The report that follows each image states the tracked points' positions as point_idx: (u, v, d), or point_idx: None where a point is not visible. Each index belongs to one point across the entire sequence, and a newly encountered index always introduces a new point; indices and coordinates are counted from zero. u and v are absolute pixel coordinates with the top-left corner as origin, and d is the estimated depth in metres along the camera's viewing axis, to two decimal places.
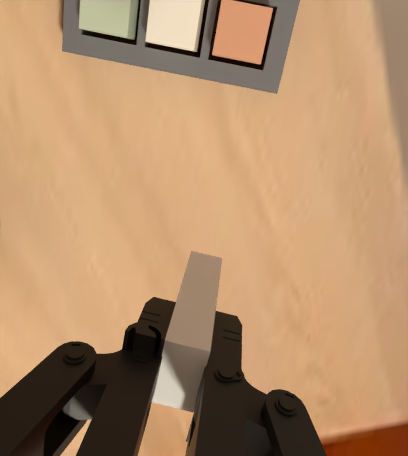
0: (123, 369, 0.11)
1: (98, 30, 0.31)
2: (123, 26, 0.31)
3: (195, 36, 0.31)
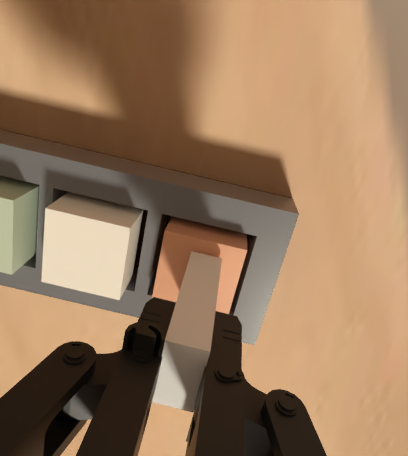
0: (123, 369, 0.11)
1: None
2: (4, 259, 0.19)
3: (121, 281, 0.19)
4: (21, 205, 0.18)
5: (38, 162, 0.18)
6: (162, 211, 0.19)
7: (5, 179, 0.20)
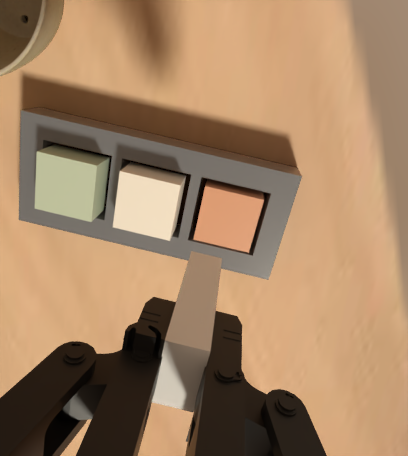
0: (123, 369, 0.11)
1: (57, 212, 0.26)
2: (86, 210, 0.26)
3: (171, 226, 0.26)
4: (100, 170, 0.25)
5: (112, 139, 0.25)
6: (201, 175, 0.26)
7: (85, 152, 0.27)
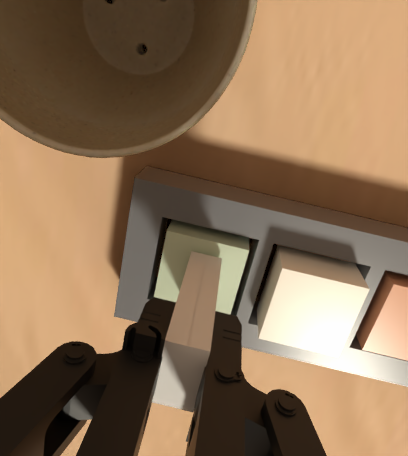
0: (123, 369, 0.11)
1: None
2: (225, 304, 0.19)
3: (344, 339, 0.18)
4: None
5: (263, 218, 0.18)
6: (386, 267, 0.18)
7: None
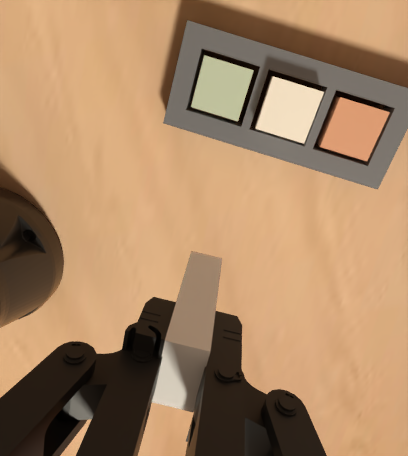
0: (123, 369, 0.11)
1: (210, 111, 0.31)
2: (236, 110, 0.31)
3: (308, 130, 0.30)
4: None
5: (263, 51, 0.29)
6: (336, 88, 0.30)
7: None
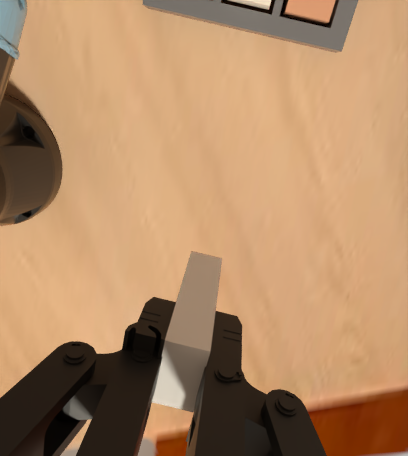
0: (123, 369, 0.11)
1: None
2: None
3: None
4: None
5: None
6: None
7: None
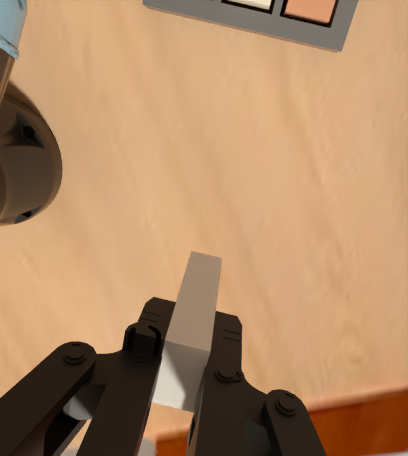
0: (123, 369, 0.11)
1: None
2: None
3: None
4: None
5: None
6: None
7: None
